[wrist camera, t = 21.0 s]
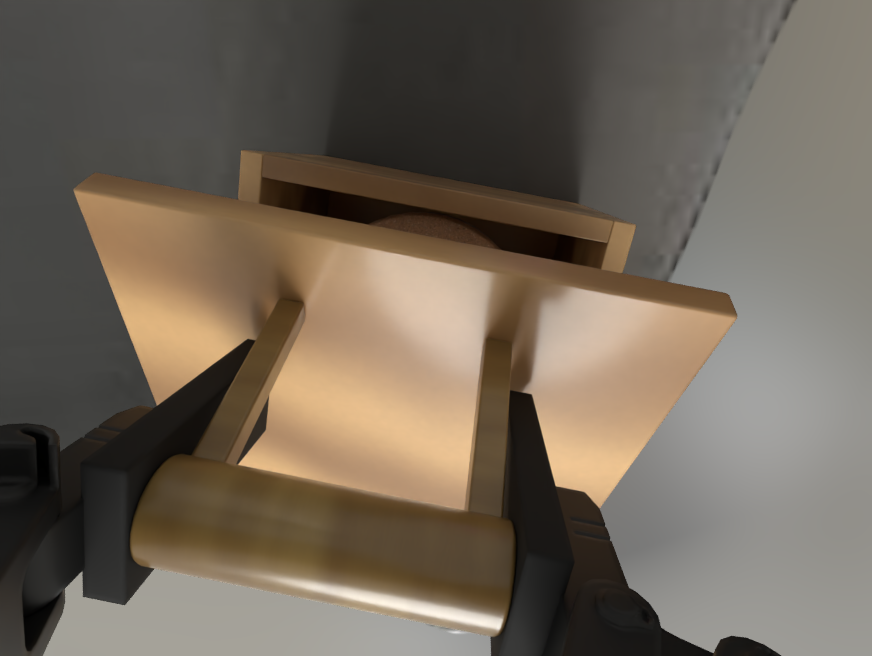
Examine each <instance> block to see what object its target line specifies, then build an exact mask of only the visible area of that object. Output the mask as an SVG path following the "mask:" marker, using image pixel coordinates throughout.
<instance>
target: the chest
mask: <svg viewBox="0 0 872 656" xmlns="http://www.w3.org/2000/svg"><path fill="white" fill-rule="evenodd" d="M238 200H242V201H247V202H253V203H258V204H263V205H268V206H273V207H279V208H284V209H289V210H294V211H300V212H305V213H310V214H315V215H320V216H326V217H331V218H336V219H341V220H347V221H352V222H357V223H362V224H367V225H368V224H370V223H372V222H374V221H376V220H379V219H382V218H385V217H388V216H391V215H396V214H403V213H409V212H434V213H440V214H446V215H449V216H452V217H455V218H458V219H461V220H463V221H465V222H467V223H469V224H471V225H473V226H475V227H476V228H478V229H479V230H480V231H482V232H483V233H484V234H486V235H487V236H488V237H489V238H490V239H491V240H492V241H493V242H494V243H495V244H496V245H497V246H498V247H499V248H500V249H501V250H503V251H508V252H514V253H519V254H524V255H529V256H535V257H540V258H545V259H550V260H555V261H561V262H566V263H571V264H576V265H581V266H587V267H592V268H597V269H602V270H608V271H613V272H618V273H623V269H624V266H625V263H626V259H627V256H628V252H629V249H630V246H631V242H632V239H633V235H634V232H635V228H636V225H635V224H632V223H629V222H627V221H624V220H621V219H619V218H616V217H613V216H610V215H608V214H605V213H602V212H600V211H597V210H594V209H591V208H589V207H586V206H583V205H580V204H577V203H572V202H567V201H561V200H556V199H551V198H546V197H540V196H535V195H530V194H525V193H519V192H514V191H509V190H504V189H498V188H493V187H488V186H482V185H477V184H472V183H467V182H461V181H456V180H451V179H446V178H440V177H435V176H430V175H425V174H419V173H414V172H409V171H403V170H398V169H393V168H388V167H382V166H377V165H372V164H367V163H361V162H356V161H351V160H346V159H340V158H335V157H330V156H324V155H310V154H295V153H280V152H265V151H251V150H242V151H241V163H240V179H239V194H238Z"/></svg>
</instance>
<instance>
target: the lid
mask: <svg viewBox="0 0 872 656" xmlns="http://www.w3.org/2000/svg"><path fill="white" fill-rule="evenodd" d="M74 193H75V196H76V198H77V201H78V204H79V206H80V209H81V211H82V214H83V216H84V219H85V222H86V224H87V227H88V229H89V232H90V234H91V237H92V240H93V242H94V245H95V247H96V250H97V252H98V255H99V258H100V260H101V263H102V265H103V268H104V270H105V273H106V275H107V278H108V281H109V283H110V286H111V288H112V291H113V293H114V296H115V299H116V301H117V304H118V306H119V309H120V311H121V314H122V317H123V319H124V322H125V324H126V327H127V329H128V332H129V335H130V337H131V340H132V342H133V345H134V347H135V350H136V353H137V355H138V358H139V360H140V363H141V365H142V368H143V371H144V373H145V376H146V378H147V381H148V383H149V386H150V389H151V391H152V394H153V396H154V399H155V401H156V404H157V405H159V404H160V403H161V402H163V401H164V400H166V399H167V398H168V397H170V396H171V395H172V394H174V393H175V392H176V391H178V390H179V389H180V388H182V387H183V386H184V385H186V384H187V383H189V382H190V381H191V380H193V379H194V378H195V377H197V376H198V375H199V374H201V373H202V372H203V371H205V370H206V369H207V368H209V367H210V366H211V365H213V364H214V363H216V362H217V361H218V360H220V359H221V358H222V357H224V356H225V355H226V354H228V353H229V352H230V351H232V350H233V349H234V348H236V347H237V346H239V345H240V344H241V343H243V342H244V341H245V340H247V339H252V340H256V341H255V343H254V344H253V346H252V348H251V350H250V351H249V353H248V355H247V357H246V359H245V360H244V362H243V364H242V366H241V368H240V369H239V371H238V373H237V375H236V376H235V378H234V380H233V382H232V384H231V385H230V387H229V389H228V391H227V393H226V394H225V396H224V398H223V400H222V401H221V403H220V405H219V407H218V409H217V410H216V412H215V414H214V416H213V418H212V419H211V421H210V423H209V425H208V426H207V428H206V430H205V432H204V434H203V435H202V437H201V439H200V441H199V443H198V444H197V446H196V448H195V450H194V451H193V453H192V455H186V454H178V455H174V456H172V457H170V458H168V459H167V460H166V461H165V462H164V463H162V464H161V466H160V467H159V468H158V469H157V470H156V472H155V473H154V474H153V476H152V477H151V479H150V481H149V482H148V484H147V486H146V488H145V490H144V492H143V494H142V496H141V498H140V501H139V503H138V506H137V508H136V511H135V515H134V518H133V522H132V527H131V532H130V552H131V556H132V558H133V560H134V561H135V562H136V563H137V564H139V565H140V566H144V567H149V568H154V569H160V570H164V571H169V572H174V573H179V574H184V575H189V576H194V577H198V578H204V579H209V580H213V581H218V582H224V583H229V584H233V585H238V586H243V587H248V588H253V589H258V590H263V591H268V592H273V593H278V594H283V595H288V596H292V597H297V598H302V599H308V600H313V601H318V602H322V603H327V604H333V605H337V606H342V607H347V608H352V609H357V610H362V611H367V612H372V613H377V614H382V615H387V616H391V617H397V618H402V619H406V620H411V621H416V622H421V623H426V624H431V625H436V626H441V627H446V628H451V629H456V630H461V631H466V632H471V633H476V634H481V635H485V636H490V637H496V636H499V635H500V634H501V632H502V630H503V628H504V626H505V623H506V620H507V617H508V613H509V609H510V605H511V600H512V594H513V587H514V579H515V570H516V533H515V528H514V524H513V522H512V521H511V520H509V519H508V518H503V509H504V490H505V471H506V452H507V433H508V415H509V396H510V390H513V391H518V392H523V393H528V394H532V396H533V400H534V404H535V408H536V412H537V416H538V420H539V424H540V427H541V431H542V435H543V439H544V443H545V447H546V451H547V455H548V459H549V462H550V466H551V470H552V474H553V478H554V482H555V486H557V487H563V488H568V489H573V490H578V491H583V492H585V493H586V494H587V495H588V496H589V497H590V498H591V499H592V500H593V502H594V503H595V504H596V505H597V506H598V507H599V509H600V507H601V506H602V505H603V503H604V502H605V500H606V499H607V498H608V496H609V495H610V493H611V492H612V491H613V489H614V488H615V487H616V485H617V484H618V482H619V481H620V479H621V478H622V477H623V475H624V474H625V473H626V471H627V470H628V469H629V467H630V466H631V464H632V463H633V462H634V460H635V459H636V458H637V456H638V455H639V453H640V452H641V450H642V449H643V448H644V446H645V445H646V444H647V442H648V441H649V440H650V438H651V437H652V435H653V434H654V433H655V431H656V430H657V428H658V427H659V425H660V424H661V423H662V421H663V420H664V419H665V417H666V416H667V414H668V413H669V412H670V410H671V409H672V408H673V406H674V405H675V403H676V402H677V401H678V399H679V398H680V396H681V395H682V394H683V392H684V391H685V390H686V388H687V387H688V385H689V384H690V383H691V381H692V380H693V378H694V377H695V376H696V374H697V373H698V371H699V370H700V369H701V367H702V366H703V365H704V363H705V362H706V361H707V359H708V358H709V356H710V355H711V354H712V352H713V351H714V349H715V348H716V346H717V345H718V344H719V342H720V341H721V340H722V338H723V337H724V335H725V334H726V333H727V331H728V330H729V329H730V327H731V326H732V324H733V323H734V321H735V320H736V319H737V313H736V311H735V308H734V306H733V304H732V301H731V299H730V297H729V295H728V294H726V293H722V292H717V291H712V290H706V289H701V288H696V287H691V286H685V285H681V284H675V283H670V282H665V281H660V280H655V279H649V278H644V277H639V276H634V275H628V274H623V273H618V272H613V271H608V270H602V269H597V268H592V267H587V266H581V265H576V264H571V263H566V262H561V261H555V260H550V259H545V258H540V257H535V256H529V255H524V254H519V253H514V252H508V251H503V250H498V249H493V248H488V247H482V246H477V245H472V244H467V243H461V242H456V241H451V240H446V239H441V238H435V237H430V236H425V235H420V234H414V233H409V232H404V231H399V230H394V229H388V228H383V227H378V226H373V225H367V224H362V223H357V222H352V221H347V220H341V219H336V218H331V217H326V216H320V215H315V214H310V213H305V212H300V211H294V210H289V209H284V208H279V207H273V206H268V205H263V204H258V203H253V202H247V201H242V200H237V199H232V198H226V197H221V196H216V195H211V194H206V193H200V192H195V191H190V190H185V189H179V188H174V187H169V186H164V185H159V184H153V183H148V182H143V181H138V180H133V179H127V178H122V177H117V176H112V175H106V174H101V173H93V174H92V175H91V176H89V177H88V178H87V179H85V180H84V181H83V182H81V183H80V184H79V185H78V186H76V187H75V188H74ZM268 397H269V403H268V414H267V424H266V431H265V432H264V433H263V434H262V436H261V437H260V438H259V439H258V441H257V442H256V443H255V444H254V446H253V447H252V448H251V449H250V450H249V452H248V453H247V454H246V455H245V457H244V458H243V459H242V460H241V462H240V463H239V464H238V465H237V464H236V463H237V461H238V459H239V457H240V455H241V453H242V451H243V448H244V446H245V444H246V442H247V440H248V438H249V436H250V434H251V432H252V430H253V428H254V426H255V424H256V421H257V419H258V417H259V415H260V413H261V411H262V409H263V407H264V405H265V403H266V401H267V399H268Z"/></svg>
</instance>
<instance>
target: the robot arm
mask: <svg viewBox="0 0 872 656" xmlns="http://www.w3.org/2000/svg"><path fill="white" fill-rule="evenodd" d="M255 341H256V340H252V339H247V340H245V341H244V342H243V343H241V344H240V345H239V346H237V347H236V348H234V349H233V350H232V351H230V352H229V353H228V354H226V355H225V356H224V357H222V358H221V359H220V360H218V361H217V362H216V363H214V364H213V365H211V366H210V367H209V368H207V369H206V370H205V371H203V372H202V373H201V374H199V375H198V376H197V377H195V378H194V379H193V380H191V381H190V382H189V383H187V384H186V385H184V386H183V387H182V388H180V389H179V390H178V391H176V392H175V393H174V394H172V395H171V396H170V397H168V398H167V399H166V400H164V401H163V402H161V403H160V404H159V405H157V406H156V407H155V408H150V407H145V406H137V407H134V408H131V409H128V410H125V411H123V412H120V413H117V414H115V415H114V416H112V417H111V418H109V419H108V420H106V421H105V422H103V423H102V424H100V425H99V428H94V429H93V430H92V431H90V432H89V433H87V434H86V435H85V437H84V438H82V437H81V438H80V439H78V440H77V441H75V442H74V443H72V444H71V445H69V446H68V447H66V448H65V449H64V450H62V451H61V452H60V440H59V436H58V434H57V433H56V431H55V430H53V429H51V428H48V427H46V426H43V425H36V424H27V423H26V424H7V425H2V426H0V656H43V654H44V652H45V649H46V647H47V645H48V643H49V641H50V639H51V636H52V634H53V632H54V630H55V628H56V626H57V624H58V621H59V620H60V617H61V615H62V613H63V609H64V604H65V588H66V587H67V586H68V585H69V584H70V583H71V582H72V581H73V580H74V579H75V578H76V576H78V574H79V573H80V572H81V571H83V597H87V598H92V599H97V600H102V601H107V602H112V603H117V604H121V605H125V604H126V603H127V602H128V601H129V600H130V598H131V597H132V596H133V595H134V593H135V592H136V591H137V590H138V588H139V587H140V586H141V585H142V583H143V582H144V581H145V580H146V578H147V577H148V576H149V575H150V573H151V572H152V571H153V570H154V568H149V567H144V566H140V565H139V564H137V563H136V562H135V561H134V560H133V558H132V556H131V552H130V532H131V527H132V522H133V518H134V515H135V511H136V508H137V506H138V503H139V501H140V498H141V496H142V494H143V492H144V490H145V488H146V486H147V484H148V482H149V481H150V479H151V477H152V476H153V474H154V473H155V472H156V470H157V469H158V468H159V467H160V466H161V464H162V463H164V462H165V461H166V460H167V459H168V458H170V457H172V456H174V455H178V454H186V455H192V453H193V451H194V450H195V448H196V446H197V444H198V443H199V441H200V439H201V437H202V435H203V434H204V432H205V430H206V428H207V426H208V425H209V423H210V421H211V419H212V418H213V416H214V414H215V412H216V410H217V409H218V407H219V405H220V403H221V401H222V400H223V398H224V396H225V394H226V393H227V391H228V389H229V387H230V385H231V384H232V382H233V380H234V378H235V376H236V375H237V373H238V371H239V369H240V368H241V366H242V364H243V362H244V360H245V359H246V357H247V355H248V353H249V351H250V350H251V348H252V346H253V344H254V343H255ZM268 403H269V397H268V399H267V401H266V403H265V405H264V407H263V409H262V411H261V413H260V415H259V417H258V419H257V421H256V424H255V426H254V428H253V430H252V432H251V434H250V436H249V438H248V440H247V442H246V444H245V446H244V448H243V451H242V453H241V455H240V457H239V459H238V461H237V463H236V464H237V465H238V464H239V463H240V462H241V460H242V459H243V458H244V457H245V455H246V454H247V453H248V452H249V450H250V449H251V448H252V447H253V446H254V444H255V443H256V442H257V441H258V439H259V438H260V437H261V436H262V434H263V433H264V432H265V431H266V424H267V414H268ZM503 518H508V519H509V520H511V521H512V522H513V524H514V528H515V533H516V570H515V579H514V587H513V594H512V600H511V605H510V609H509V613H508V617H507V620H506V623H505V626H504V628H503V630H502V632H501V634H500V635H499V636H496V637H491V656H781V655H779V654H778V653H776V652H775V651H773V650H772V649H770V648H768V647H767V646H765V645H763V644H761V643H758V642H756V641H753V640H751V639H748V638H744V637H735V636H730V637H727V638H724V639H721V640H720V642H719V644H718V645H717V647H716V649H715V652H714V653H711V652H709V651H707V650H704V649H702V648H700V647H698V646H696V645H694V644H691V643H689V642H687V641H685V640H683V639H680V638H678V637H676V636H674V635H673V634H671V633H669V632H667V631H665V630H664V629H662V628H661V626H660V622H659V618H658V615H657V614H656V612H655V611H654V610H653V608H652V607H651V605H650V604H649V603H648V602H647V601H646V600H645V599H644V598H643V597H641V596H640V595H639V594H638V593H637V592H635V591H634V590H632V589H630V588H629V587H628V584H627V582H626V579H625V576H624V574H623V571H622V569H621V566H620V563H619V560H618V558H617V555H616V552H615V549H614V547H613V544H612V542H611V541H610V536H609V533H608V531H607V528H606V527H605V522H604V520H603V517H602V514H601V512H600V509H599V507H598V506H597V505H596V504H595V503H594V502H593V500H592V499H591V498H590V497H589V496H588V495H587V494H586V493H585V492H583V491H578V490H573V489H568V488H563V487H557V486H555V482H554V478H553V474H552V470H551V466H550V462H549V459H548V455H547V451H546V447H545V443H544V439H543V435H542V431H541V427H540V424H539V420H538V416H537V412H536V408H535V404H534V400H533V396H532V394H528V393H523V392H518V391H513V390H510V396H509V415H508V433H507V452H506V471H505V490H504V509H503Z"/></svg>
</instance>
